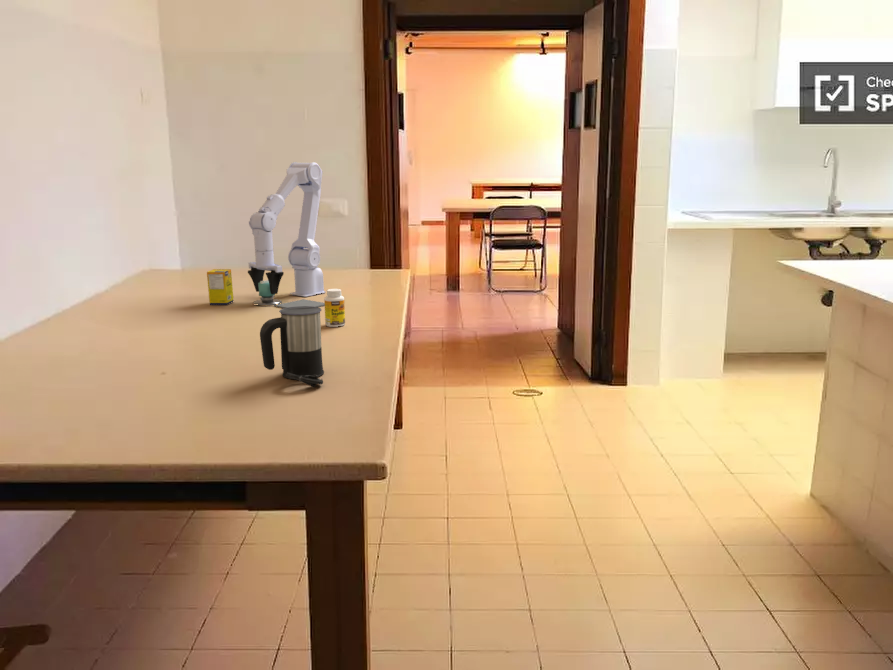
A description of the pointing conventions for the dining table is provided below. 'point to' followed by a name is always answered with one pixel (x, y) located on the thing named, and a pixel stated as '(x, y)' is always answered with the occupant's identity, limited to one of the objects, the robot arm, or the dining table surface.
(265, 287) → the cap
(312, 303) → the mat
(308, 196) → the robot arm
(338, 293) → the supplement bottle
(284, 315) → the milk frother
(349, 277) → the dining table surface
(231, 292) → the supplement box
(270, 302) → the metal flanged disc
